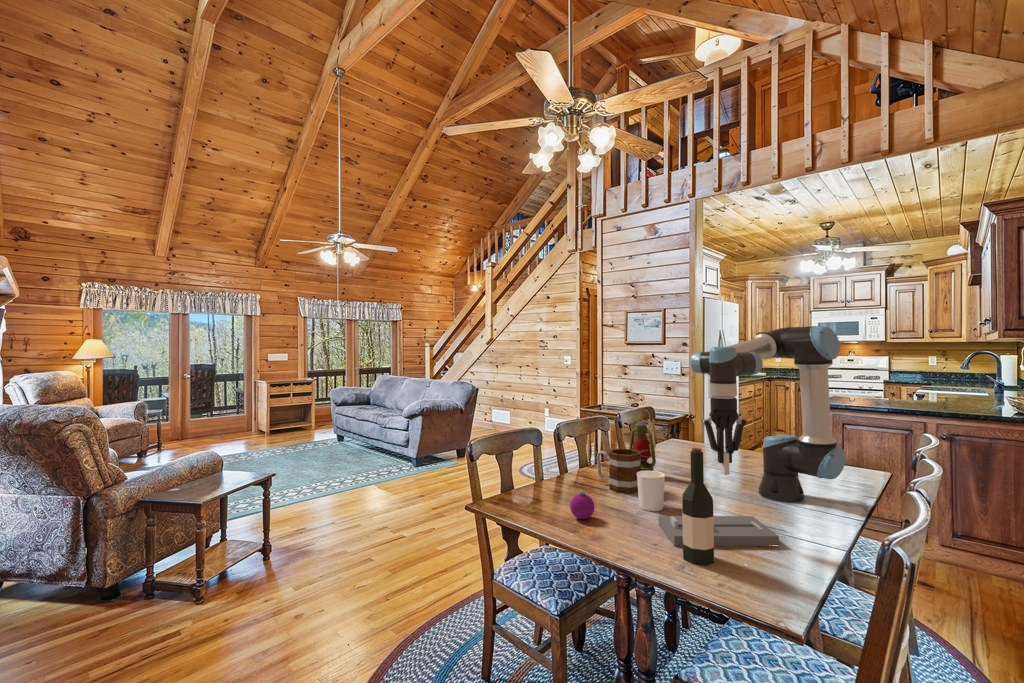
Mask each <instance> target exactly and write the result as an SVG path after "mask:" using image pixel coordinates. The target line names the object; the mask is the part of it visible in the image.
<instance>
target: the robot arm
mask: <svg viewBox="0 0 1024 683" xmlns="http://www.w3.org/2000/svg"><path fill="white" fill-rule="evenodd" d="M840 347H841V346H840V340H839V338H838V335H837V333H836V332H835V330H833V329H832V328H831V327H828V326H822V325H812V326H811V325H810V326H787V327H781V328H777V329H774V330H770V331H766V332H763V333H759V334H757V335H756V336H755V337H753V338H752V339H748V340H745V341H742V342H741V341H740V342H738V343H735V344H731V345H727V346H712V347H710V349H709V351H703V350H701V351H696V352H694V353H693V354H692V355H691V357H690V361H689V363H690V368H691V370H692V371H693V372H694V373H696V374H702V375H709V377H710V378H709V379H710V380H709V394H710V396H711V397H710V398H709V400H710V401H709V402H710V403H709V404H710V406H709V407H710V412H709V416H708V417H707V418H703V419H702V420H701V422H702V424H703V426H704V427H705V430H706V435H707V438H708V442H709V446H710V449H711V450H713V451H714V452H716V453H717V462H718V463H719V464H720V473H721V474H723V476H729V475H731V474H730V464H732V463H733V454H734V452H738V451H739V448H740V446H741V445H740V444H741V440H742V435H743V430H744V428H745V426H746V424H747V419H744V418H741V417H740V414H739V413H738V398H737V396H738V389H737V388H738V386H737V385H738V384H737V381H738V380H737V377H745V376H746V377H747V376H748V377H751V376H754V375H757V374H759V373H760V372H761V371H762V369H763V366H764V365H763V364H764V363H763V360H768V359H773V358H775V359H790V360H791V359H793V365H794V366H796V367H797V368H798V369H799V384H800V385H799V386H800V403H801V405H800V406H801V423H802V425H801V426H802V435H800V436H799V437H798V436H797V435H794V434H793V435H792V434H777V435H774V434H773V435H768V436H765V437H764V438H763V441H762V442H763V444H762V457H763V474H762V477H761V479H760V483H759V486H758V494H759V495H760V496H762V497H764V498H767V499H769V500H774V501H779V502H787V503H788V502H789V503H792V502H793V503H794V502H795V503H796V502H802V501H804V500H805V492H804V490H803V487H802V484H801V481H800V478H799V474H802V475H805V476H811V477H816V478H818V479H825V480H834V479H836V478H838V477H839V476H840V475H841V474H842V472H843V471H844V468H845V464H846V453H845V450H844V449H843V448H842V447H840V446H838V442H837V439H836V438H834V436H833V435H832V425H831V409H830V408H831V404H830V390H829V389H830V387H829V386H830V385H829V372H828V371H829V368H830V367H831V366H832V365H833V364H834V363H833V360H835V359H837V358H838V357H839V355H840V350H841V348H840ZM735 423H736V425H735ZM712 424H714V425H715V430H716V436H715V432H714V428H713V426H712ZM734 425H735V428H734ZM733 430H734V432H733Z"/></svg>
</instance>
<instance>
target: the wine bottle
mask: <svg viewBox="0 0 1024 683" xmlns="http://www.w3.org/2000/svg"><path fill="white" fill-rule="evenodd" d="M704 474H705V473H704V452H703V451H702V448H699V447H693V448H692V449H691V451H690V482H689V484H688V485H687V487H686V488H685V490H683V493H682V496H681V497H682V498H681V499H682V500H681V501H682V516H683V546H682V556H683V557H682V558H683V560H684V561H686V562H688V563H689V564H692V565H696V566H703V567H706V566H709V565H713V564H715V546H714V520H713V516H714V500H713V499H714V498H713V496H712V494H711V493H710V492H709V490H708V487H707V486H706V485H705V482H704V481H705V480H704Z"/></svg>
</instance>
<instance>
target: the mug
mask: <svg viewBox="0 0 1024 683" xmlns="http://www.w3.org/2000/svg"><path fill="white" fill-rule="evenodd" d="M601 454H602V455H604V457H605V458H606V459H607V460H609V463H608V464H609V466H608V474H609V475H607V476H604V474H603V473H602V466H601V465H602V463H601ZM640 456H641V451H637V450H634V449H629V448H620V447H619V448H614V449H609V450H608V453H607V452H606V451H605V450H600V451H598V452H597V455H596V462H597V465H596V466H597V470H596V471H597V474H598V477H599V478H600V479H601V480H609V487H608V490H609V491H612V492H614V493H617V494H627V495H633V494H638V483H637V472H639V471H641V464H640Z"/></svg>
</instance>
